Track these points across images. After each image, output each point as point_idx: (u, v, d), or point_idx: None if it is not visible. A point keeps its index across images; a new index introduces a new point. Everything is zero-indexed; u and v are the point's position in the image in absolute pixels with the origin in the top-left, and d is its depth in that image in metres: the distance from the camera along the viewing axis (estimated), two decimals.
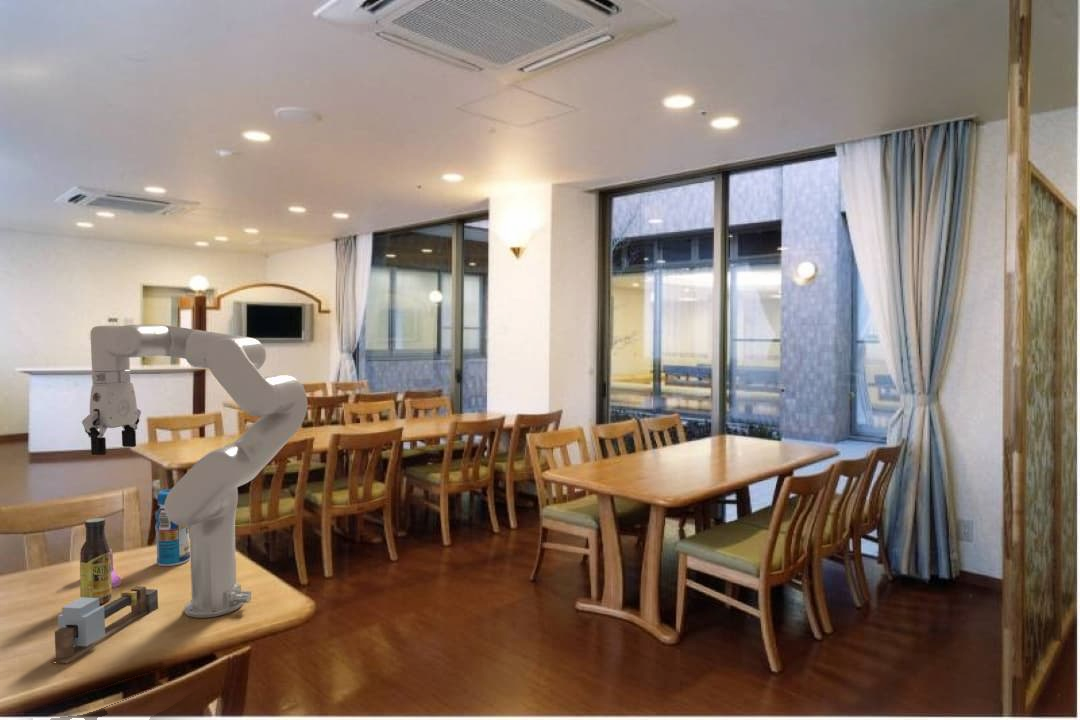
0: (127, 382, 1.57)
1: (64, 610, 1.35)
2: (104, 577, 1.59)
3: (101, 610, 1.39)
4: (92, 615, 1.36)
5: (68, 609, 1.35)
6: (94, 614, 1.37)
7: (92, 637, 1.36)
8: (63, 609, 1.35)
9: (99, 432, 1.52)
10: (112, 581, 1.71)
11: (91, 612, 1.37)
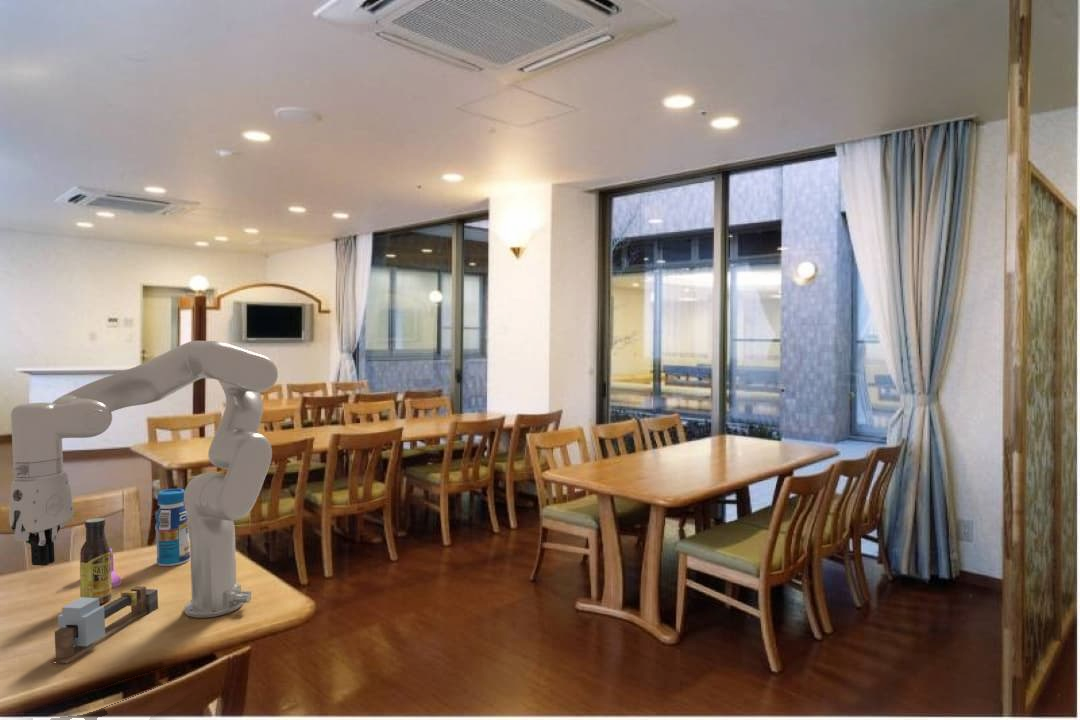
0: (58, 473, 1.27)
1: (64, 610, 1.35)
2: (104, 577, 1.59)
3: (101, 610, 1.39)
4: (92, 615, 1.36)
5: (68, 609, 1.35)
6: (94, 614, 1.37)
7: (92, 637, 1.36)
8: (63, 609, 1.35)
9: (39, 542, 1.26)
10: (112, 581, 1.71)
11: (91, 612, 1.37)
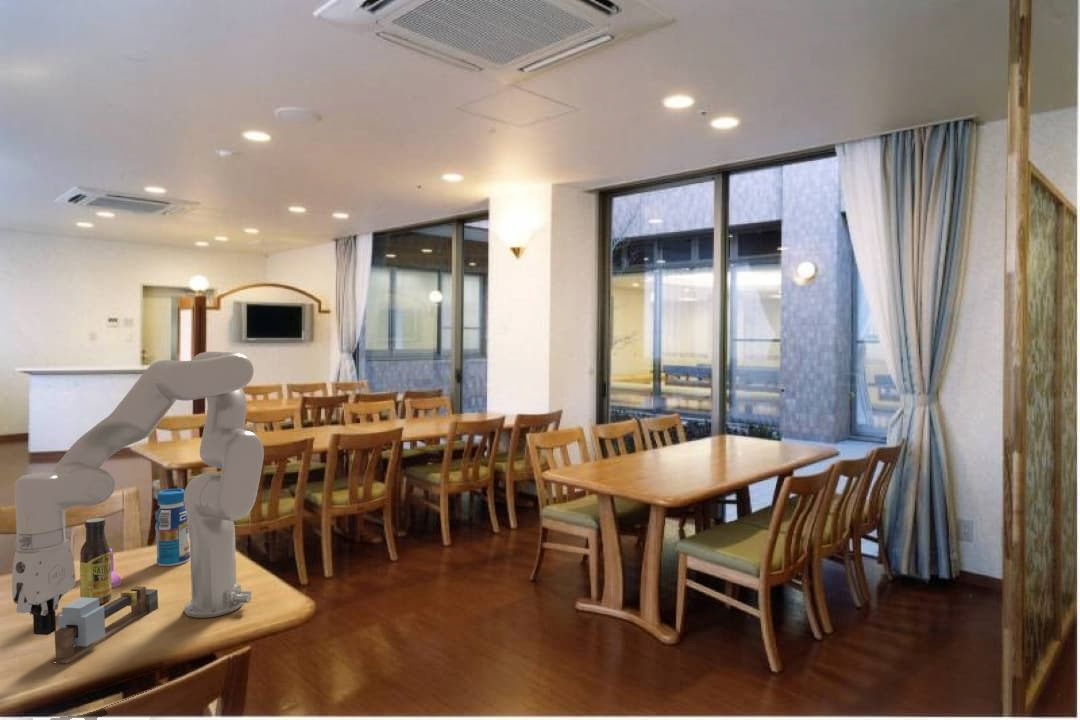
0: (61, 543, 1.28)
1: (64, 610, 1.35)
2: (104, 577, 1.59)
3: (101, 610, 1.39)
4: (92, 615, 1.36)
5: (68, 609, 1.35)
6: (94, 614, 1.37)
7: (92, 637, 1.36)
8: (63, 609, 1.35)
9: (41, 612, 1.26)
10: (112, 580, 1.71)
11: (91, 612, 1.37)
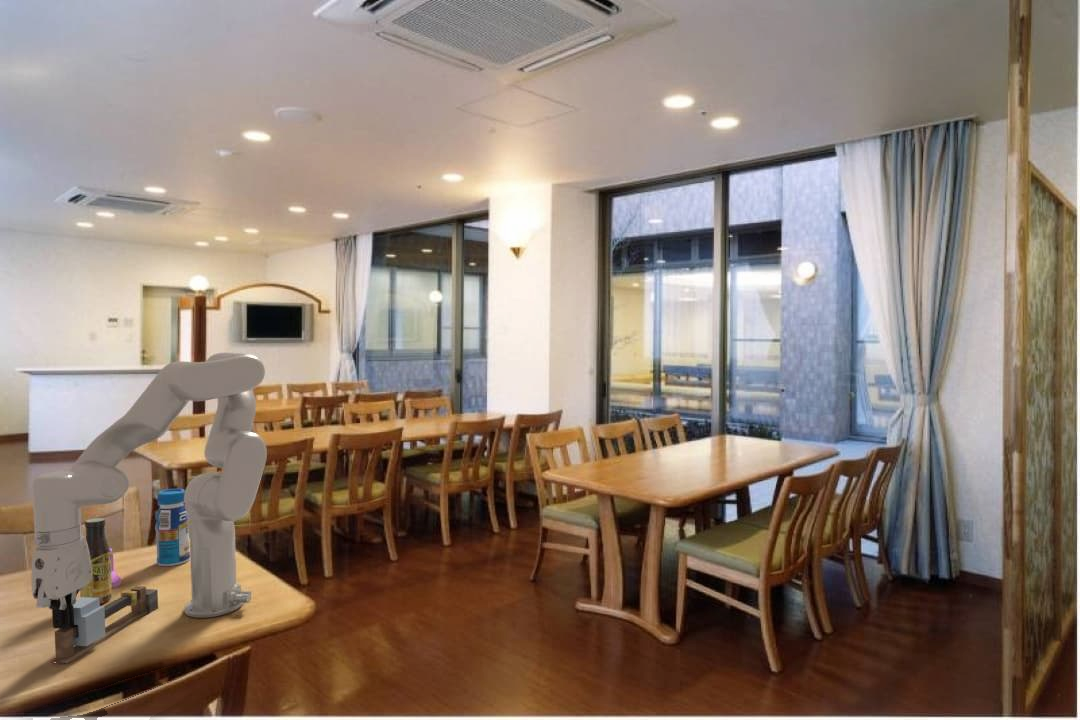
0: (78, 540, 1.32)
1: None
2: (104, 577, 1.59)
3: (101, 610, 1.39)
4: (92, 614, 1.36)
5: None
6: (94, 613, 1.37)
7: (92, 637, 1.36)
8: None
9: (60, 607, 1.30)
10: (112, 580, 1.71)
11: (91, 612, 1.37)
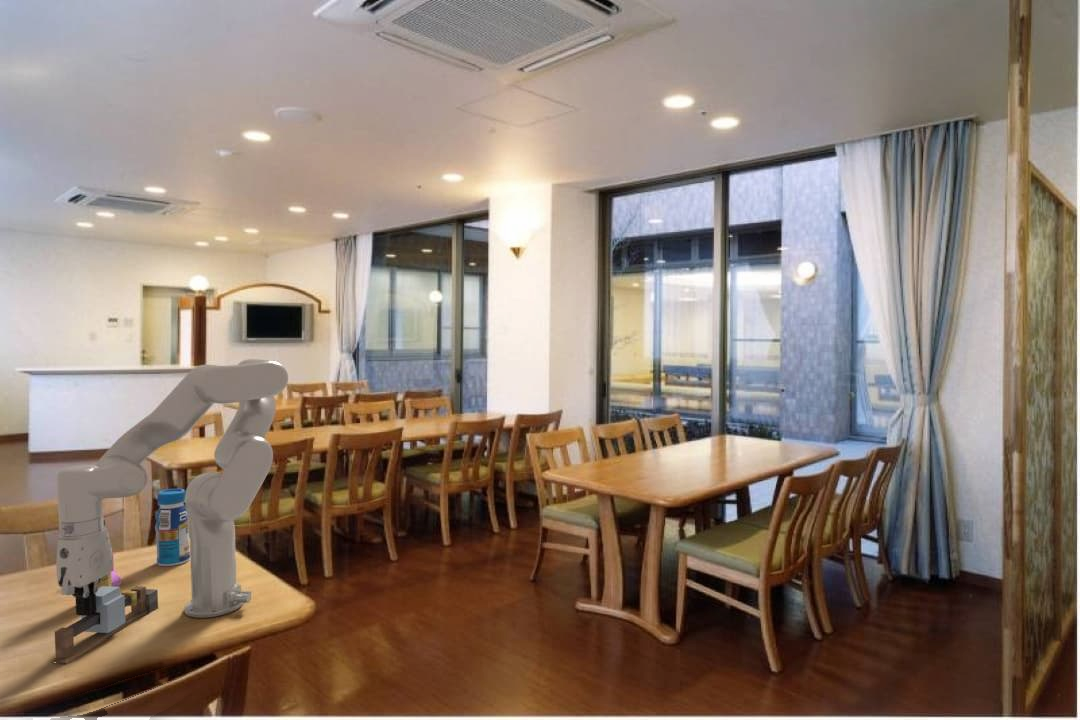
0: (100, 531, 1.37)
1: None
2: (104, 577, 1.59)
3: (122, 598, 1.44)
4: (113, 602, 1.42)
5: None
6: (115, 602, 1.43)
7: (113, 624, 1.42)
8: None
9: (83, 595, 1.36)
10: (112, 580, 1.71)
11: (112, 600, 1.42)
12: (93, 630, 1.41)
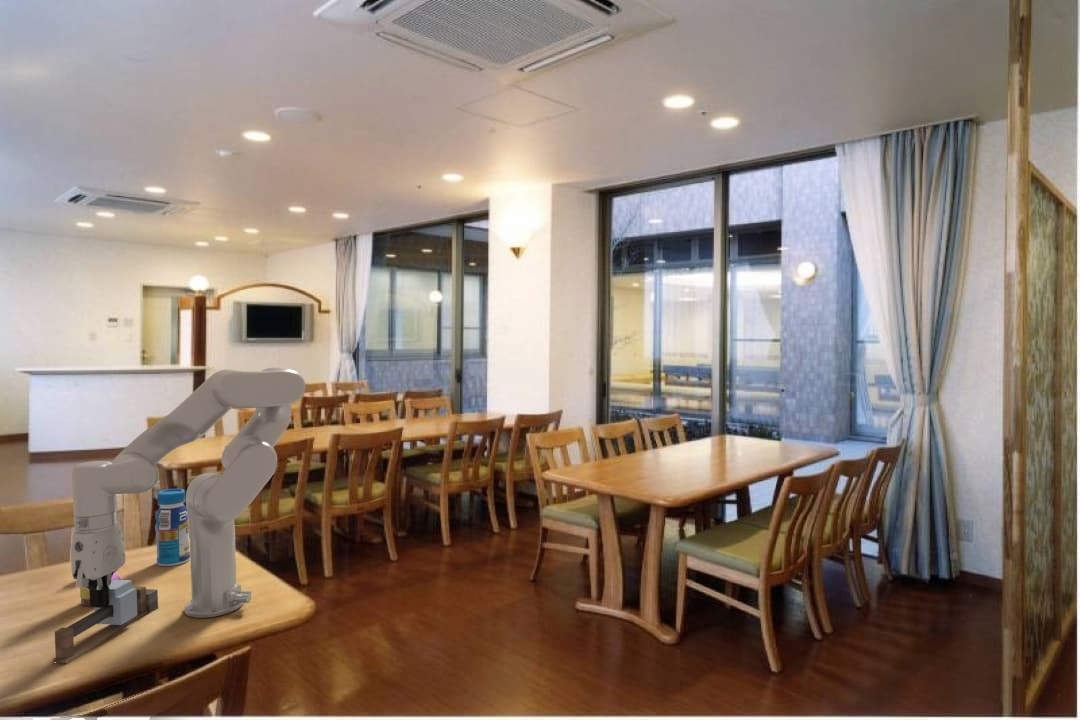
0: (113, 525, 1.41)
1: None
2: None
3: (134, 591, 1.48)
4: (126, 595, 1.46)
5: None
6: (128, 595, 1.46)
7: (126, 617, 1.46)
8: None
9: (97, 587, 1.40)
10: (112, 580, 1.71)
11: (125, 593, 1.46)
12: (106, 622, 1.45)
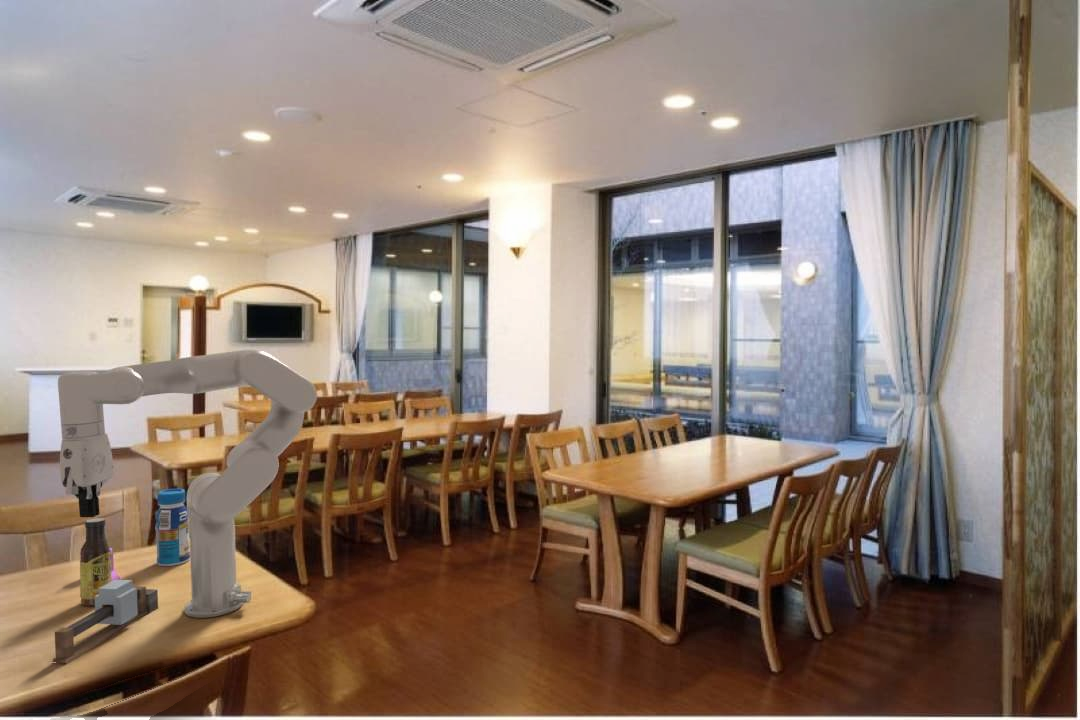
0: (102, 434, 1.41)
1: (100, 591, 1.44)
2: (104, 577, 1.59)
3: (134, 591, 1.48)
4: (126, 595, 1.46)
5: (104, 590, 1.44)
6: (128, 594, 1.46)
7: (126, 617, 1.46)
8: (99, 590, 1.44)
9: (87, 496, 1.40)
10: (112, 580, 1.71)
11: (125, 593, 1.46)
12: (106, 622, 1.45)
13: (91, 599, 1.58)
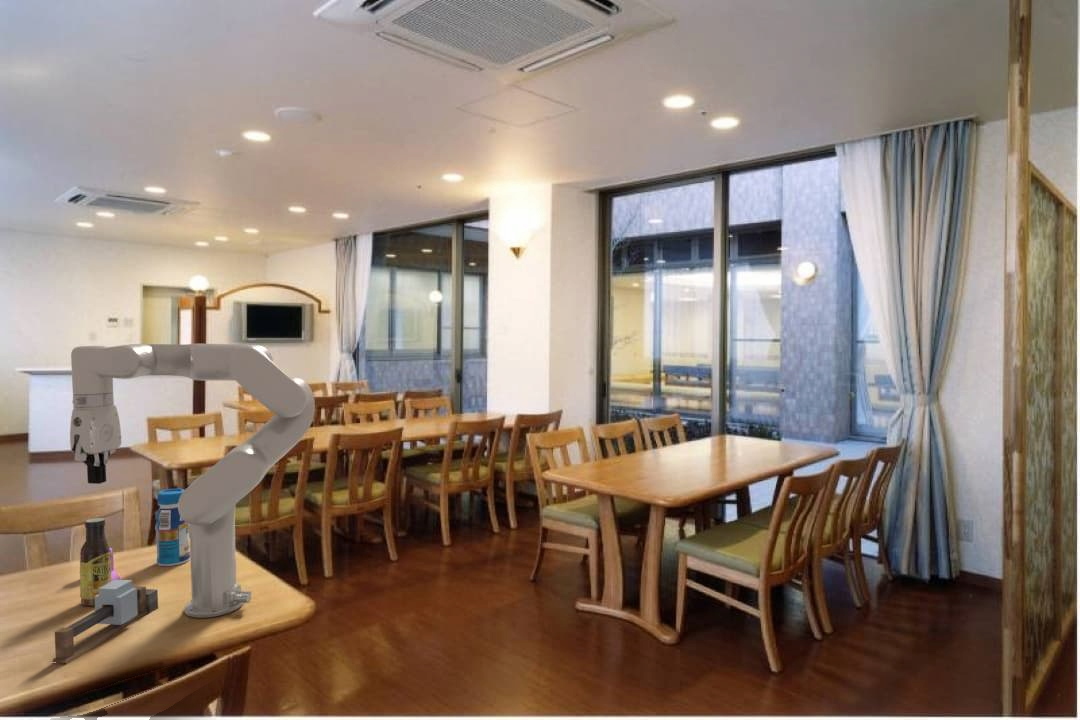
0: (110, 405, 1.49)
1: (100, 591, 1.44)
2: (104, 577, 1.59)
3: (134, 591, 1.48)
4: (126, 595, 1.46)
5: (104, 590, 1.44)
6: (128, 594, 1.46)
7: (126, 617, 1.46)
8: (99, 590, 1.44)
9: (94, 463, 1.48)
10: (112, 580, 1.71)
11: (125, 593, 1.46)
12: (106, 622, 1.45)
13: (91, 599, 1.58)
